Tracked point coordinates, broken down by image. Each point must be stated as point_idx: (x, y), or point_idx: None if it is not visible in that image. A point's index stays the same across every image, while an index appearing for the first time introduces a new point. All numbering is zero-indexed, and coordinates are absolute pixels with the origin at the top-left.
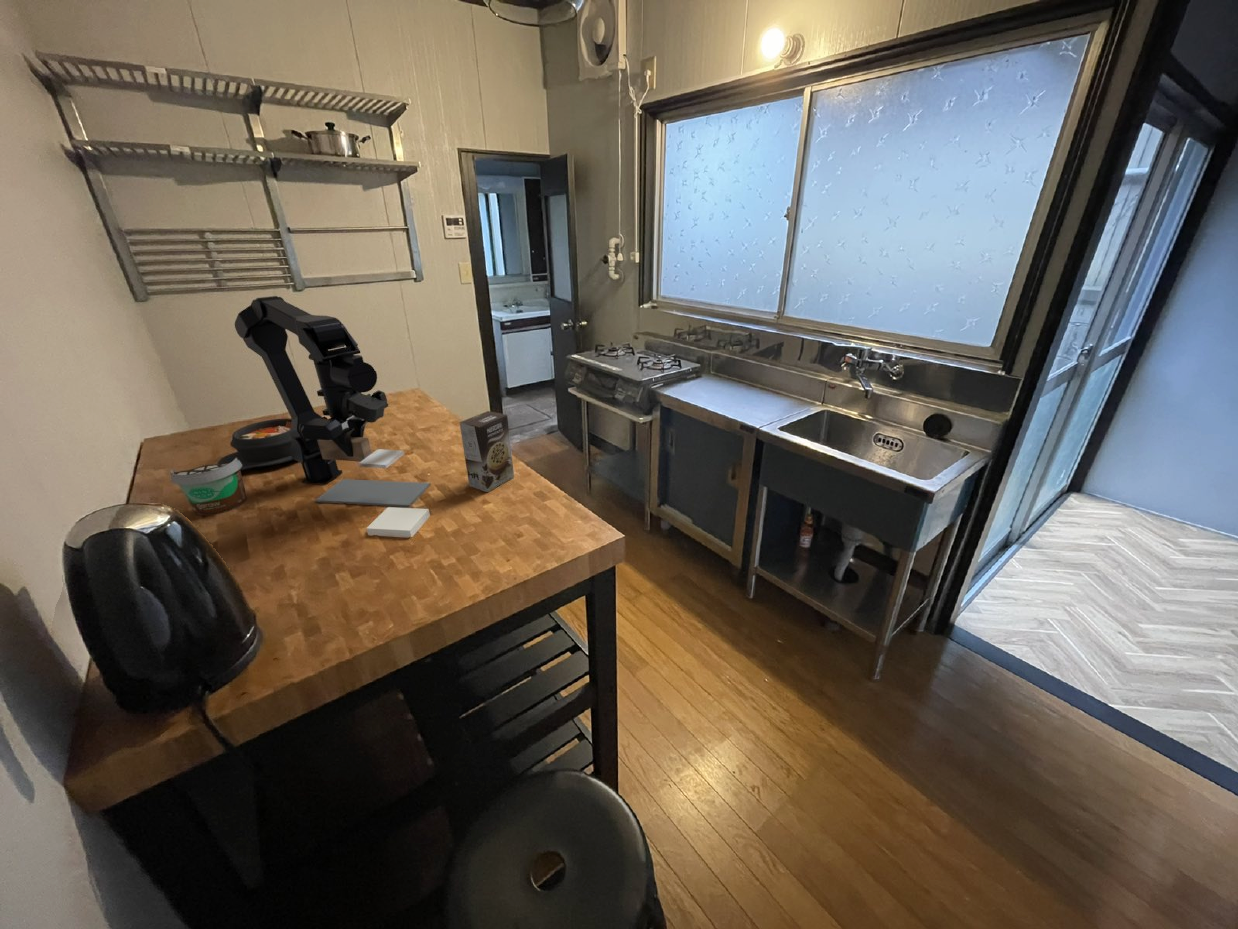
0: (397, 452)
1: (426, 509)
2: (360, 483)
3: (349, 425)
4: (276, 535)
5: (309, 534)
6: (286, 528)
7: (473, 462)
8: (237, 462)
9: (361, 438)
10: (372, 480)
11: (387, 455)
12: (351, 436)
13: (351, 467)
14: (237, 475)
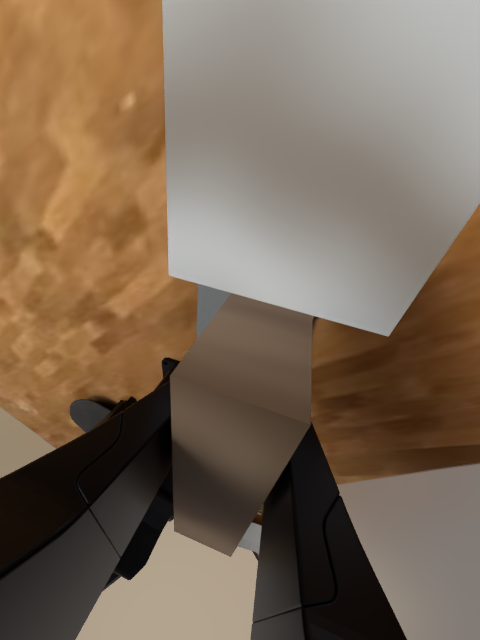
0: (208, 41)
1: None
2: (215, 311)
3: (86, 586)
4: (434, 414)
5: (473, 360)
6: (405, 404)
7: None
8: (246, 537)
9: (192, 420)
10: (198, 287)
11: (278, 139)
12: (165, 466)
13: (143, 346)
14: (259, 511)
